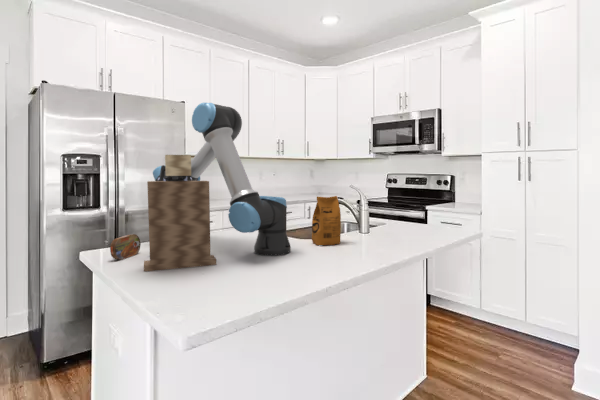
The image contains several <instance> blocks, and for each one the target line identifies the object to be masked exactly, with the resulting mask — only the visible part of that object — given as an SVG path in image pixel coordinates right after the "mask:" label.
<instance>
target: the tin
mask: <svg viewBox="0 0 600 400" xmlns="http://www.w3.org/2000/svg"><path fill="white" fill-rule="evenodd" d="M140 250H141V239H140V236H138V235H137V234H135V233H133V234H127V235H123V236H120V237H117V238H114V239H113V240H112V241H111V243H110V246H109V251H110V255H111V257H112V258H113V259H114V260H118V261H119V260H120V261H121V260H122V261H123V260H125V259H129V258H130V257H134V256H135V255H138V253H139V252H140Z"/></svg>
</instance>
